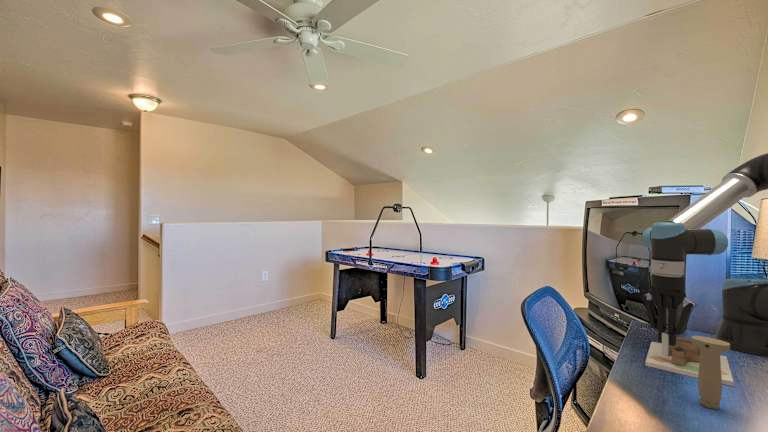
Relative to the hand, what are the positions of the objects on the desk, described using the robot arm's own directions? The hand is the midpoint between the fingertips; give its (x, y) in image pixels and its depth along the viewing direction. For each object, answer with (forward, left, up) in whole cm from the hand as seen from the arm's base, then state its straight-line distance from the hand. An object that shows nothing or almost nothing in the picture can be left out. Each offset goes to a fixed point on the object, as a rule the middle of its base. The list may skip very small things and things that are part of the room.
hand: (667, 355), depth 101 cm
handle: (-8, +22, -3) cm, 24 cm away
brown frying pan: (-4, -4, -1) cm, 6 cm away
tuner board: (-4, -6, -3) cm, 8 cm away
